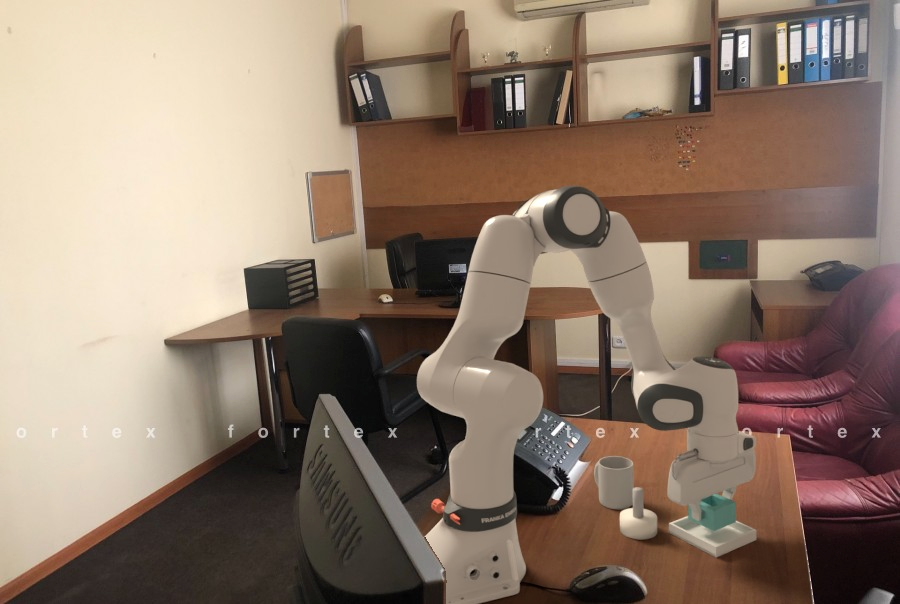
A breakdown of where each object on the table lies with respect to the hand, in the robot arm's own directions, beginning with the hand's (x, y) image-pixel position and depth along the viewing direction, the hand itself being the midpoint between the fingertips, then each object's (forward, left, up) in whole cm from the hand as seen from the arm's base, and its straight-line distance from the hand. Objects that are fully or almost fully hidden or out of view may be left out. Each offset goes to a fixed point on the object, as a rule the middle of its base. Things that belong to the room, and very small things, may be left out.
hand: (711, 513), depth 130 cm
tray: (0, 0, -5) cm, 5 cm away
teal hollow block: (0, 0, -1) cm, 1 cm away
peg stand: (-10, +9, -5) cm, 14 cm away
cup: (-5, +22, -5) cm, 23 cm away
